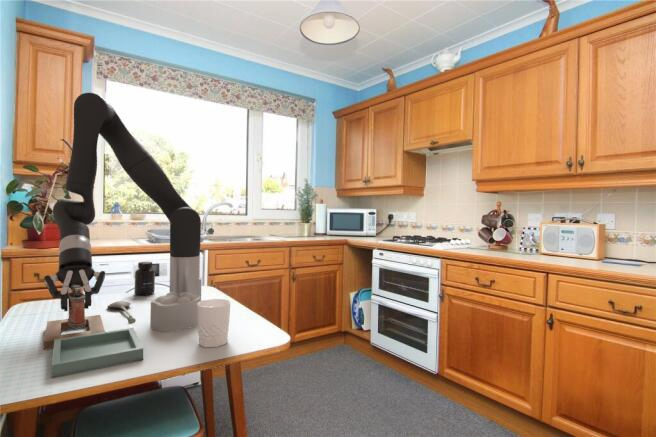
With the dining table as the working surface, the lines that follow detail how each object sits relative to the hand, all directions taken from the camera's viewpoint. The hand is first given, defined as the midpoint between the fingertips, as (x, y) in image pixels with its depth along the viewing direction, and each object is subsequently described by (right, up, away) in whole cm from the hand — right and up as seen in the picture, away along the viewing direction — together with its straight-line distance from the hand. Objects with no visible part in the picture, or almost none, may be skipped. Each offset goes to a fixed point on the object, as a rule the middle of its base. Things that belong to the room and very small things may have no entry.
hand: (76, 308), depth 92 cm
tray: (+12, -8, -11) cm, 18 cm away
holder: (-1, -7, +2) cm, 7 cm away
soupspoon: (0, -7, +20) cm, 22 cm away
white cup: (+35, -8, -2) cm, 36 cm away
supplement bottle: (-6, -6, +45) cm, 46 cm away
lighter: (-1, -5, +2) cm, 5 cm away
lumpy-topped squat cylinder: (+21, -8, +11) cm, 25 cm away
